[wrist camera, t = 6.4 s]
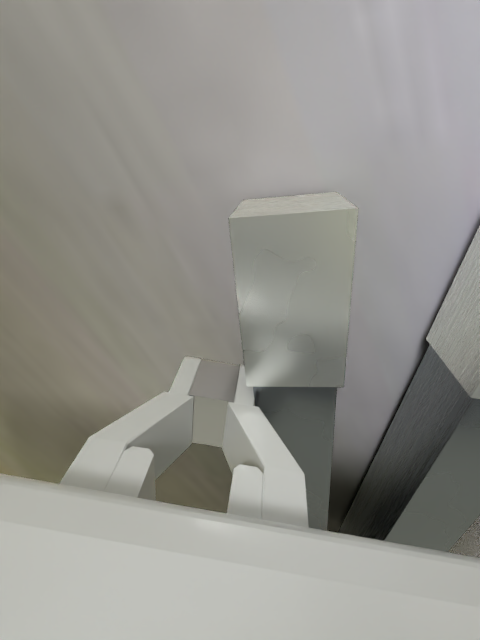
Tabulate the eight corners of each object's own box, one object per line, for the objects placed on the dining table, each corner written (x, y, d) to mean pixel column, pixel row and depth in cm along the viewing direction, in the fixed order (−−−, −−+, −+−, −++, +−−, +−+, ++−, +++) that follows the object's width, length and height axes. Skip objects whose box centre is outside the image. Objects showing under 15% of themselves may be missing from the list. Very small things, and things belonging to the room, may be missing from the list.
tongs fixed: (329, 619, 19) (341, 728, 16) (258, 604, 20) (252, 708, 16) (588, 205, 7) (901, 261, 4) (392, 181, 8) (496, 210, 4)
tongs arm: (338, 571, 16) (355, 698, 12) (274, 565, 17) (271, 685, 13) (381, 187, 7) (481, 225, 4) (243, 199, 8) (208, 242, 4)
